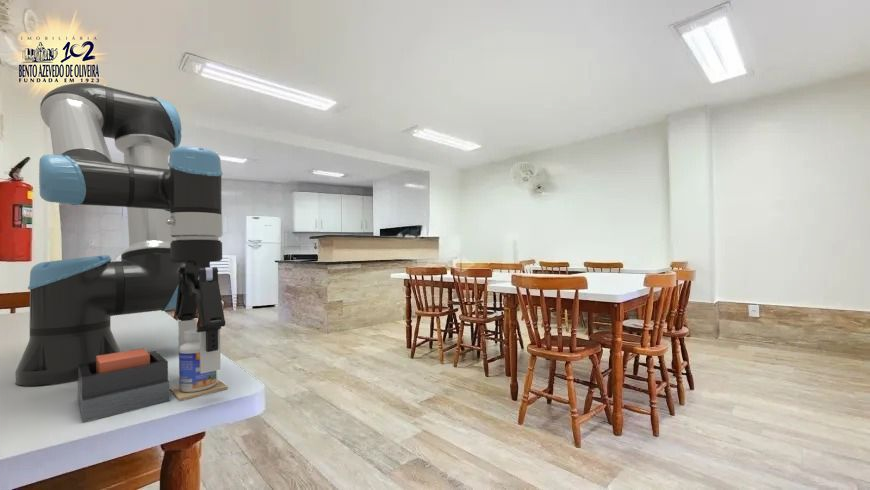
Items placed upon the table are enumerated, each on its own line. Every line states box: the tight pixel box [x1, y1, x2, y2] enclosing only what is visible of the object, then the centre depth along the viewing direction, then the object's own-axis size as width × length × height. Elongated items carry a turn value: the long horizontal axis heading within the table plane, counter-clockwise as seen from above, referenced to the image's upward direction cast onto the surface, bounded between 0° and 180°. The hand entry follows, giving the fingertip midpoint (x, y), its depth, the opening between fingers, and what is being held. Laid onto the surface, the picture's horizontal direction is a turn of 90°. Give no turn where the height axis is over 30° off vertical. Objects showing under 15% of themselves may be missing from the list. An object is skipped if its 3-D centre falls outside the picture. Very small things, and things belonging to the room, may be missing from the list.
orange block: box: [96, 347, 150, 374], centre depth 59 cm, size 6×6×5 cm
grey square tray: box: [77, 350, 171, 423], centre depth 59 cm, size 12×10×6 cm
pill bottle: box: [178, 329, 218, 392], centre depth 64 cm, size 5×5×10 cm
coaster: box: [170, 378, 229, 402], centre depth 63 cm, size 7×7×1 cm
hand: (198, 363), depth 64 cm, fingers open, 13 cm apart
